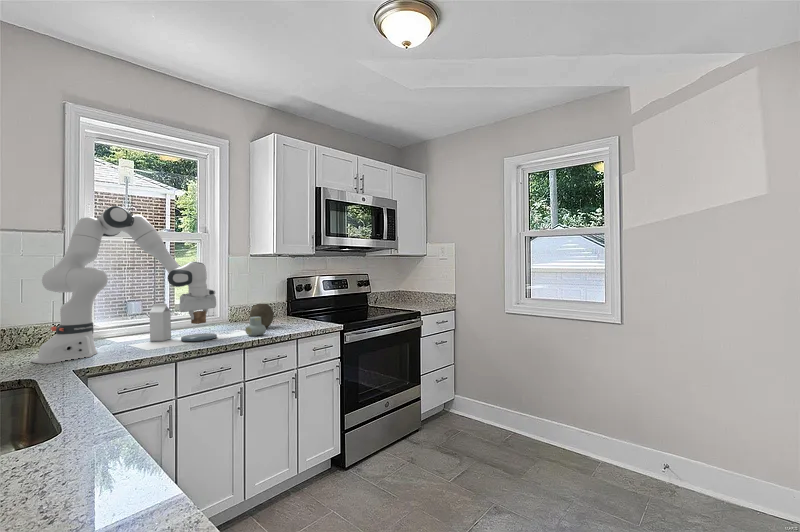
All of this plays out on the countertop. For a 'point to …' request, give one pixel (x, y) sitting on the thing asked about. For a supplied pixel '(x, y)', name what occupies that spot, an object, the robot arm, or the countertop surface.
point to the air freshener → (255, 327)
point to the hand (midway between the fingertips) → (198, 318)
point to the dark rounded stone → (263, 313)
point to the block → (199, 317)
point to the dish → (198, 337)
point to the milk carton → (160, 322)
